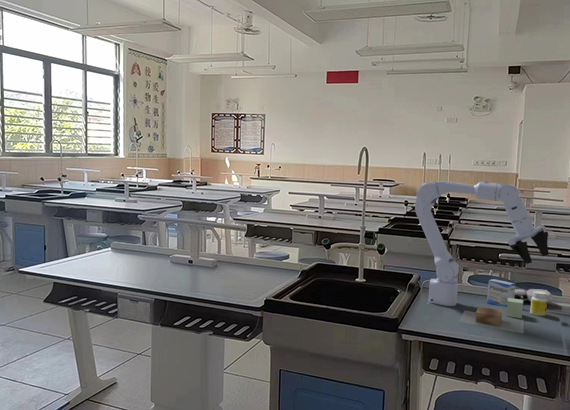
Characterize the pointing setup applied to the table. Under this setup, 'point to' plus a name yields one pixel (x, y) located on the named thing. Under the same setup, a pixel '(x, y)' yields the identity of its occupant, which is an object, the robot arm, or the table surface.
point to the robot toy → (530, 294)
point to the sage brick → (514, 308)
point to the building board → (505, 324)
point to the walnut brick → (488, 316)
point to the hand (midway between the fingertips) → (537, 259)
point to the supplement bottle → (538, 303)
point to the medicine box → (500, 292)
